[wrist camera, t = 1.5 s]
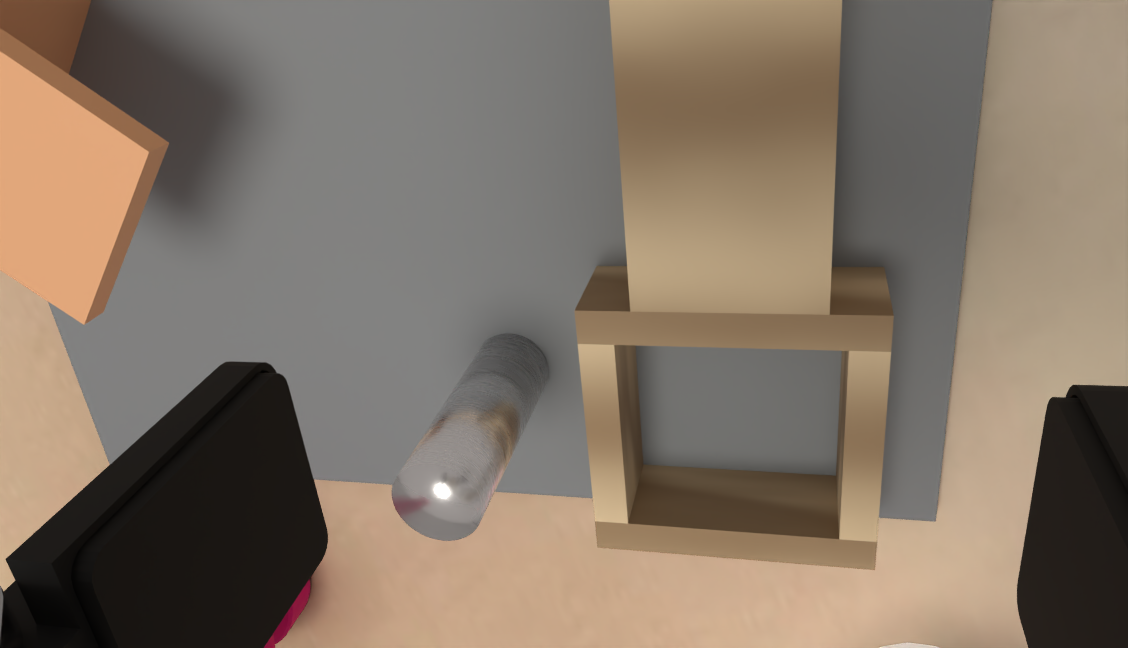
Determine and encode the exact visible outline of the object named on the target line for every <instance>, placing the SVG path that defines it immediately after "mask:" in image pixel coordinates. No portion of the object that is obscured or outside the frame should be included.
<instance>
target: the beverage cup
mask: <svg viewBox="0 0 1128 648" xmlns="http://www.w3.org/2000/svg"><path fill="white" fill-rule="evenodd" d="M879 648H939V647H937V646H932V645H924V644H916V643H908V642H907V643H901V644H894V645H888V646H881V647H879Z"/></svg>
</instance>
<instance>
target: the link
mask: <svg viewBox="0 0 1128 648" xmlns="http://www.w3.org/2000/svg"><path fill="white" fill-rule="evenodd" d="M609 6H610V21H611V36H612V50H613V65H614V80H615V94H616V109H617V124H618V139H619V153H620V168H621V183H622V197H623V212H624V227H625V241H626V256H627V266H596V268H595V270H594V272H593V274H592V276H591V278H590V280H589V282H588V284H587V286H586V288H585V290H584V292H583V294H582V296H581V298H580V300H579V302H578V304H577V306H576V308H575V310H574V312H575V322H576V332H577V342H578V352H579V363H580V373H581V383H582V393H583V403H584V414H585V424H586V434H587V444H588V454H589V465H590V475H591V485H592V495H593V505H594V516H595V526H596V536H597V546H598V548H610V549H623V550H635V551H647V552H660V553H672V554H684V555H697V556H709V557H721V558H733V559H746V560H758V561H770V562H783V563H795V564H807V565H820V566H832V567H844V568H857V569H869V570H875V562H876V548H877V535H878V522H879V508H880V495H881V481H882V468H883V454H884V441H885V427H886V414H887V401H888V387H889V374H890V360H891V347H892V333H893V320H894V314H893V309H892V304H891V299H890V294H889V289H888V284H887V279H886V274H885V269H884V267H832V244H833V218H834V193H835V168H836V143H837V118H838V92H839V67H840V42H841V17H842V0H609ZM635 345H637V346H677V347H716V348H756V349H795V350H834V351H842V358H841V379H840V400H839V421H838V443H837V464H836V476H832V475H815V474H798V473H780V472H763V471H746V470H728V469H711V468H694V467H676V466H659V465H643V452H642V436H641V421H640V406H639V391H638V376H637V361H636V346H635Z"/></svg>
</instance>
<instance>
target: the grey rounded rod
mask: <svg viewBox="0 0 1128 648" xmlns="http://www.w3.org/2000/svg"><path fill="white" fill-rule="evenodd" d="M549 373H550V372H549V364H548V361H547V358H546V356H545V354H544V353H543V351H542V350H541V349H540V348H539V347H538V346H537V345H536V344H535V343H534V342H532V341H531V340H529V339H528V338H526V337H523V336H520V335H517V334H510V333H505V334H499V335H495V336H493V337H491V338H489V339H488V340H487V341H486V342H484V344H483V345H482V346H481V348H480V349H479V351H478V352H477V354H476V355H475V357H474V358H473V360H472V361H471V363H470V365H469V366H468V368H467V369H466V371H465V372H464V374H463V375H462V377H461V378H460V380H459V382H458V383H457V385H456V386H455V388H454V389H453V391H452V392H451V394H450V395H449V397H448V398H447V400H446V402H445V403H444V405H443V406H442V408H441V409H440V411H439V412H438V414H437V415H436V417H435V418H434V420H433V422H432V423H431V425H430V426H429V428H428V429H427V431H426V432H425V434H424V435H423V437H422V439H421V440H420V442H419V443H418V445H417V446H416V448H415V449H414V451H413V452H412V454H411V455H410V457H409V459H408V460H407V462H406V463H405V465H404V466H403V468H402V469H401V471H400V472H399V474H398V476H397V477H396V479H395V481H394V483H393V486H392V500H393V503H394V506H395V508H396V510H397V512H398V514H399V515H400V517H401V518H402V519H403V520H404V521H405V522H406V523H407V524H408V525H409V526H410V527H411V528H413V529H414V530H415V531H417V532H419V533H420V534H422V535H425V536H427V537H430V538H433V539H437V540H443V541H452V540H458V539H462V538H464V537H466V536H468V535H470V534H471V533H473V532H474V531H475V530H476V528H477V527H478V525H479V523H480V521H481V519H482V517H483V515H484V513H485V511H486V509H487V507H488V505H489V503H490V500H491V498H492V496H493V494H494V492H495V490H496V488H497V486H498V484H499V482H500V480H501V478H502V476H503V473H504V471H505V469H506V467H507V465H508V463H509V461H510V459H511V457H512V455H513V453H514V451H515V448H516V446H517V444H518V442H519V440H520V438H521V436H522V434H523V432H524V430H525V428H526V426H527V424H528V421H529V419H530V417H531V415H532V413H533V411H534V409H535V407H536V405H537V403H538V401H539V399H540V396H541V394H542V392H543V390H544V388H545V386H546V384H547V382H548V379H549Z"/></svg>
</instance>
